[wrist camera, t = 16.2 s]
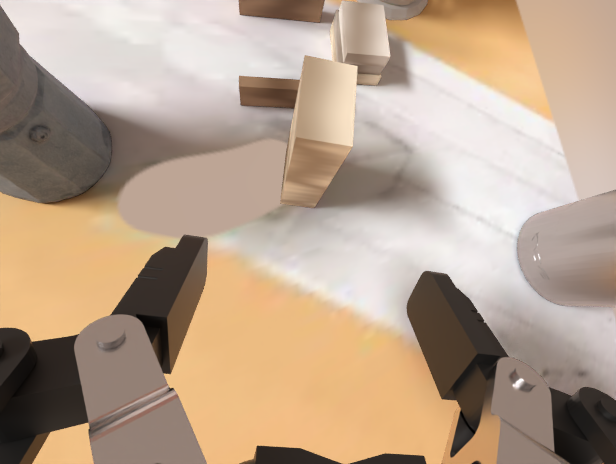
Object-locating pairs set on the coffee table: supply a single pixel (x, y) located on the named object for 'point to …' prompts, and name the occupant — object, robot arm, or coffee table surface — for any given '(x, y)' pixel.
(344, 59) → the offcut stack
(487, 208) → the coffee table surface
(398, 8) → the french press
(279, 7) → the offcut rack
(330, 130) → the light wooden block
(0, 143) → the moka pot
